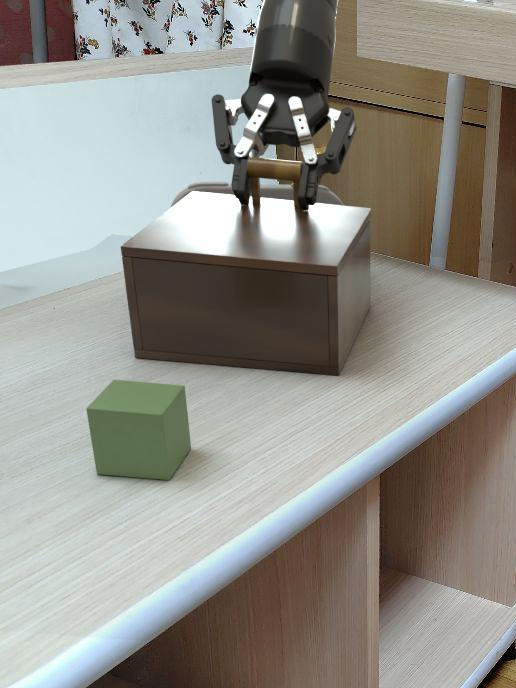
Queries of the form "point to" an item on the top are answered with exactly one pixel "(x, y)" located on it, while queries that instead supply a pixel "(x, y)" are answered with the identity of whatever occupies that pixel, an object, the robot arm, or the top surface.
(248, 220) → the lid
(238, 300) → the chest
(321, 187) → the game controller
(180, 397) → the block
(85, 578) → the top surface
